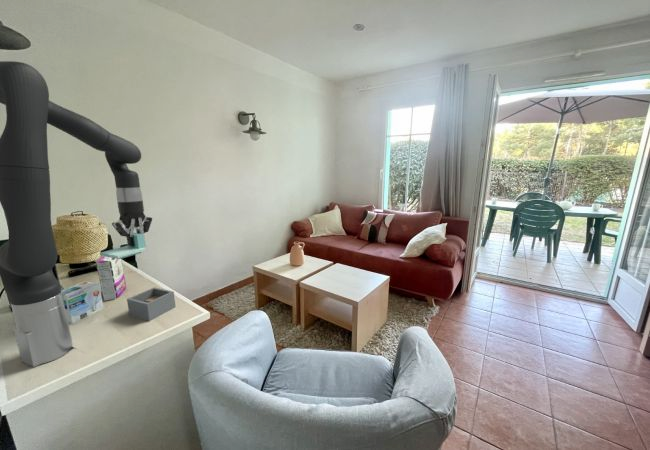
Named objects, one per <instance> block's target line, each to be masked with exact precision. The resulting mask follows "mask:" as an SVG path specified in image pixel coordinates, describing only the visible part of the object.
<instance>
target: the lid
mask: <svg viewBox="0 0 650 450" xmlns="http://www.w3.org/2000/svg"><path fill="white" fill-rule="evenodd" d="M133 237H134V243H135V246H134V247H130V246H129V245H128V241H127V240H126V243H127V245H125V246H124V245H123V246H121V247H117V248H114V249H113V248H112V249H108V250H105V251H101V252H99V255H100V256H103V257H104V256H106V257H111V258H116V259H121V260H122V259H125V258H129V257H131V256H136V255H138V254H141V253H142V252H145V251H147V250H146V247H147V246H146V239H145V233H144V234H140V233H137V232H133Z"/></svg>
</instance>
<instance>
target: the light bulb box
mask: <svg viewBox="0 0 650 450" xmlns="http://www.w3.org/2000/svg"><path fill="white" fill-rule="evenodd" d="M61 292H62V297H63V302H64V306H65V311H66V316H67V320H68V325H70V324H73V323H74V324H75V323H77V322H79V321H80V320H83V319H85V318H86V317H88V316H91V315H93V314H94V313H97V312H99V311H100V310H103V309H104V303H103V296H102V290H101V285H100V282H92V281H82V282H80V283H77V284H74V285H72V286H71V285H70V286H69V287H66V288H64V289H61Z"/></svg>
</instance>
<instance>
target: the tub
mask: <svg viewBox="0 0 650 450" xmlns="http://www.w3.org/2000/svg"><path fill="white" fill-rule="evenodd" d="M152 296H158V297H159V298H157V299H155V300H153V301H150V302H148V303H147V302H145V301H146V300H147V299H149V298H150V297H152ZM126 302H127V307H128V308H127V309H128V313H129V316H130V317H132V318H137V319H140V320H144V321H146V322H147V321H148V322H151V321H153V320H155V319H156V318H159V317H160V316H162V315H164V314H166V313H168V312H170V311H171V310H173V309H175V308H176V301H175V292H174V290H173V291H172V290H168V289H164V288H160V287H155V286H154V287H152V288H149V289H147V290H145V291H142V292H140V293H138V294H135V295H133V296H131V297H128V298H126Z"/></svg>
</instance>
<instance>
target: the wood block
mask: <svg viewBox="0 0 650 450" xmlns="http://www.w3.org/2000/svg"><path fill="white" fill-rule="evenodd" d="M157 298H159V297H158V296H152V297H150V298H149V299H147V300H146V301H145V302H147V303H148V302H150V301H153V300H155V299H157Z"/></svg>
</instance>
